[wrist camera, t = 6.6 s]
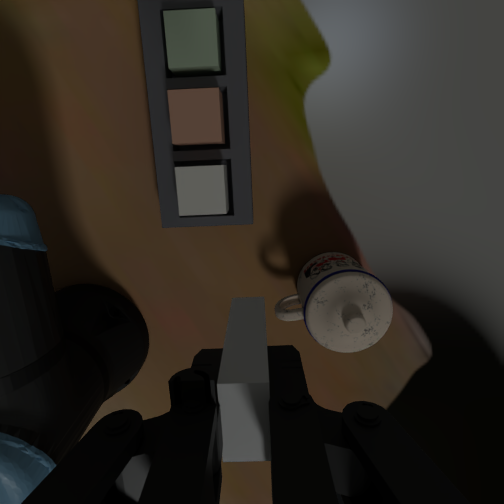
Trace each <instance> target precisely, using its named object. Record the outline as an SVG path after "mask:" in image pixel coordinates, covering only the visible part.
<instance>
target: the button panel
mask: <svg viewBox="0 0 504 504" xmlns="http://www.w3.org/2000/svg"><path fill="white" fill-rule="evenodd" d="M207 8H215V10H216V14H217V17H218V21H219V30H220V47H221V64H222V75H212V76H193V77H176V76H175V75H174V74H173V72H172V71H171V70H170V69H169V68H168V57H167V46H166V36H165V25H164V15H163V11H171V10H189V9H207ZM138 9H139V18H140V27H141V36H142V45H143V55H144V64H145V73H146V82H147V91H148V100H149V110H150V119H151V128H152V137H153V146H154V155H155V165H156V174H157V183H158V192H159V201H160V210H161V219H162V228H169V227H194V226H218V225H242V224H253V200H252V177H251V154H250V131H249V107H248V84H247V61H246V38H245V15H244V0H138ZM218 87H219V89H220V91H221V93H222V99H223V115H224V132H225V144H207V145H186V146H179V145H175V144H172V134H171V123H170V113H169V103H168V92H167V90H178V89H198V88H218ZM213 165H227V182H228V198H229V210H228V212H227V214H210V215H186V216H179V207H178V196H177V186H176V176H175V167H191V166H213Z"/></svg>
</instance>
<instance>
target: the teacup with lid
mask: <svg viewBox="0 0 504 504" xmlns="http://www.w3.org/2000/svg"><path fill="white" fill-rule="evenodd" d="M297 291H298V294H294V295H290V296H287V297H284V298H283V299H281V300H280V301H278V302H277V304H276V305H275V314H276V316H277V318H279V319H281V320H285V321H294V320H300V319H304V321H305V325H306V327H307V329H308V331H309V333H310V335H311V336H312V337H313V338H314V339H315V340H316V341H317V342H318V343H320V344H321V345H322V346H324V347H326V348H328V349H330V350H333V351H337V352H356V351H360V350H363V349H366V348H368V347H370V346H372V345H373V344H375V343H376V342H377V341H378V340H379V339H380V338H381V337H382V336H383V335H384V334H385V332H386V331H387V329H388V327H389V325H390V322H391V319H392V314H393V305H392V299H391V296H390V293H389V291H388V289H387V288H386V286H385V285H384V284H383V283H382V282H381V281H380V280H379V279H378V278H377V277H375V276H374V275H372V274H370V273H369V272H368V271H366V270H365V269H364V268H363V267H362V266H361V265H360V264H359V263H358V262H357V261H356V260H355V259H354V258H352V257H350V256H348V255H346V254H343V253H339V252H327V253H323V254H320V255H318V256H316V257H314V258H312V259H311V260H310V261H308V262H307V263H306V264H305V266H304V267H303V268H302V270H301V272H300V274H299V277H298V281H297ZM296 304H301V305H302V308H298V309H292V310H285V309H286V308H287V307H289V306H292V305H296Z"/></svg>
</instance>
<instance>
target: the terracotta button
mask: <svg viewBox="0 0 504 504" xmlns="http://www.w3.org/2000/svg"><path fill="white" fill-rule="evenodd" d="M167 92H168V103H169V113H170V123H171V134H172V144H175V145H179V146H186V145H207V144H225V132H224V115H223V99H222V93H221V91H220V89H219V87H218V88H198V89H178V90H167Z"/></svg>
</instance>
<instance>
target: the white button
mask: <svg viewBox="0 0 504 504" xmlns="http://www.w3.org/2000/svg"><path fill="white" fill-rule="evenodd" d="M175 176H176V186H177V196H178V207H179V216H186V215H210V214H227V212H228V210H229V198H228V182H227V165H213V166H191V167H175Z"/></svg>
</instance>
